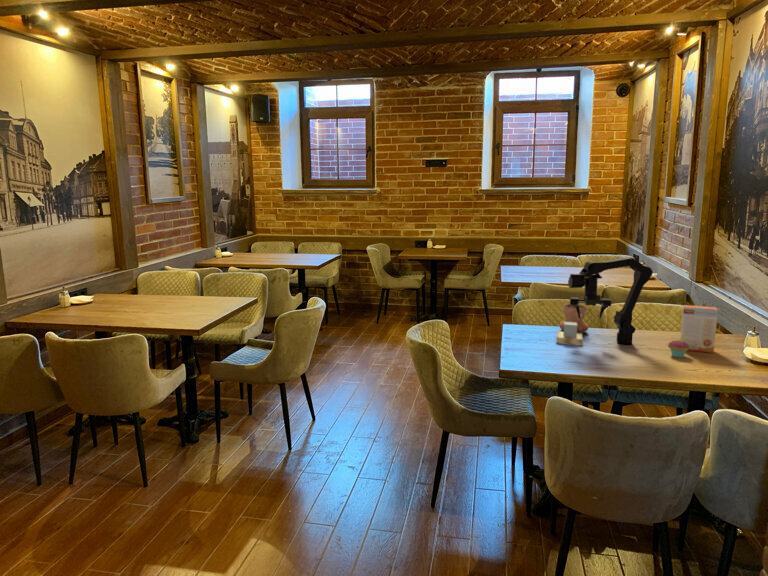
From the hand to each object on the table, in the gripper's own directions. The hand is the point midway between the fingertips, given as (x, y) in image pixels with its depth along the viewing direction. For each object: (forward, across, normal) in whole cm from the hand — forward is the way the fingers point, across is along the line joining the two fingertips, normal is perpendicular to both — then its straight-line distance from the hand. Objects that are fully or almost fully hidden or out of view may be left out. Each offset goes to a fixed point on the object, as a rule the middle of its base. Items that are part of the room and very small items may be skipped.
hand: (589, 318), depth 272 cm
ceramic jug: (+12, -7, +20) cm, 25 cm away
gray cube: (+9, -9, 0) cm, 13 cm away
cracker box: (+14, +48, +4) cm, 50 cm away
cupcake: (+13, +38, -9) cm, 41 cm away
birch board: (+12, -9, 0) cm, 15 cm away
